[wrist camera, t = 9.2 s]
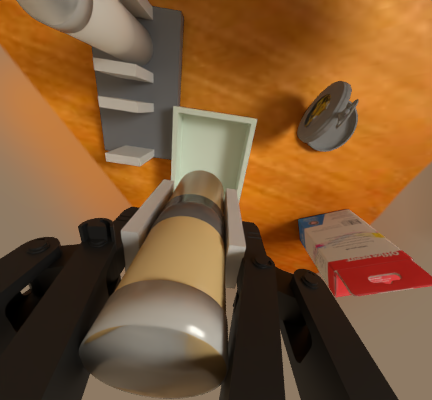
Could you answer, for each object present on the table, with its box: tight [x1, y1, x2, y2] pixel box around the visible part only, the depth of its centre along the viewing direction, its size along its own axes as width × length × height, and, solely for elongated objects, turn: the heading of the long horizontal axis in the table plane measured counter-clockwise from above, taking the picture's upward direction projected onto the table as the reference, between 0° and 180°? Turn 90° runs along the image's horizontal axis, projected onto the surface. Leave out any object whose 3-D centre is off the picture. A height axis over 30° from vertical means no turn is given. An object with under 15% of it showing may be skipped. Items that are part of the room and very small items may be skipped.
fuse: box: [16, 0, 153, 67], centre depth 15 cm, size 4×4×12 cm
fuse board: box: [92, 0, 184, 166], centre depth 21 cm, size 16×10×6 cm, turn 172°
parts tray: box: [171, 106, 257, 202], centre depth 26 cm, size 12×10×4 cm
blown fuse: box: [79, 170, 229, 399], centre depth 10 cm, size 4×4×12 cm
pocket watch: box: [297, 81, 358, 152], centre depth 20 cm, size 8×8×10 cm
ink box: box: [298, 209, 432, 297], centre depth 26 cm, size 8×5×15 cm, turn 105°
